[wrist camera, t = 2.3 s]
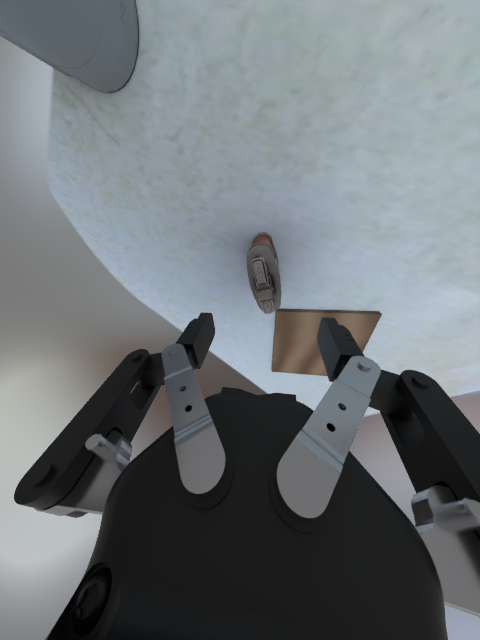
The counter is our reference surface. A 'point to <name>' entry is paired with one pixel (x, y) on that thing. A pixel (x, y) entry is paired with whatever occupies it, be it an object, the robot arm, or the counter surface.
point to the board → (313, 337)
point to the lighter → (264, 273)
